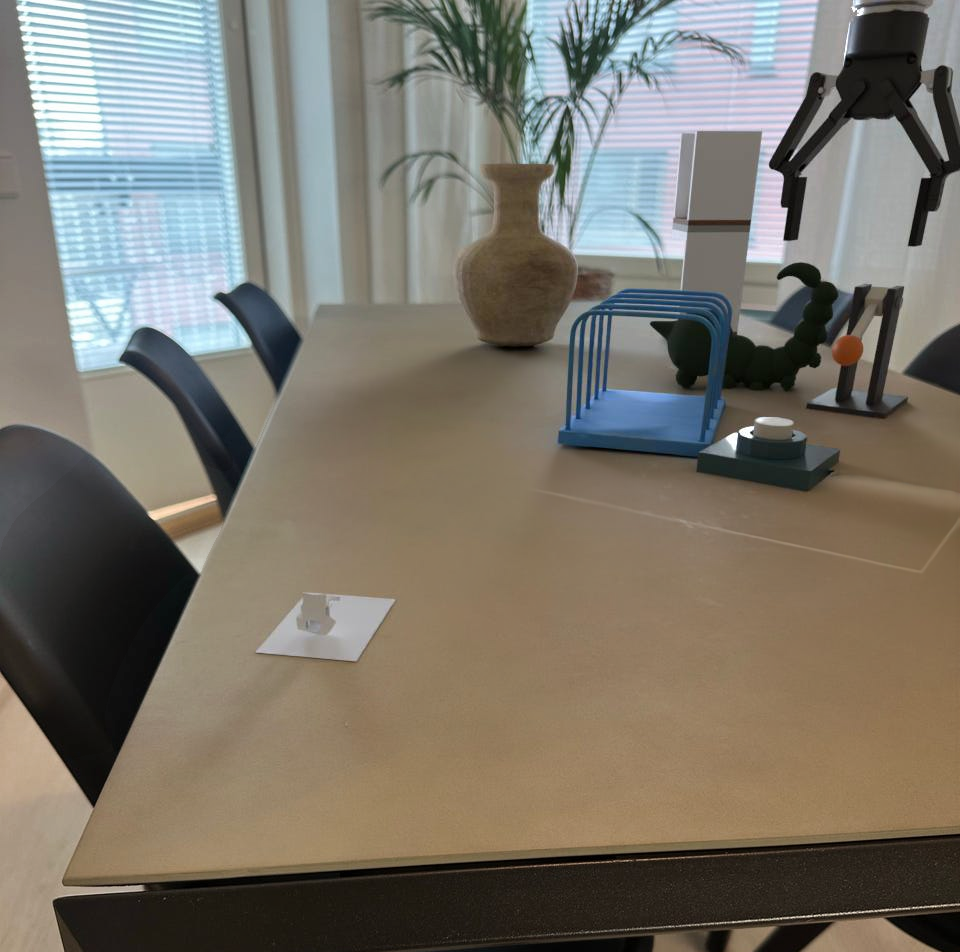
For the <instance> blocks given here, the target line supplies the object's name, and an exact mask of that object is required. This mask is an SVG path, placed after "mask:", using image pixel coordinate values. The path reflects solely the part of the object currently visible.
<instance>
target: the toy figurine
mask: <svg viewBox="0 0 960 952" xmlns="http://www.w3.org/2000/svg"><path fill="white" fill-rule="evenodd" d="M787 277H793V278H796V279H798V280H799V281H800V282H801V283H802V284H803V285H804V286H805V287H807V288H812V290H811V291H810V296H809V297H810V300H809V301H808V302H806V304H805V305H804V307H803V309H802V319H801V320H800V321H798V323H797V324H796V325H795V327H794V330H793V336H791V337H790V338H788V339H787V340H786V342H785V343H784V345H783V346H778V347H775V348H774V347H772V346H770V345H764V344H759V345H756V344H755V343H754V342H753V341H752V339H750V338H749V337H748V336H744V335H742V334H741V335H740V334H737V335H734V333H733V330H732V327H730V335H729V342H728V349H727V356H726V363H725V370H724V378H723V384H722V389H724V390H725V389H727V390H730V389H732V388H733V387H734V386H735V385H736V384H740V383H742V384H743V385H745V386H746V387H748V389H749V390H750V391H755V392H761V391H764V389H766V388H769V387H771V386H773V385H774V384H780V387H781V388H782V389H783V390H785V391H787V390H791V389H793V387H794V386H795V385H796V380H797V375H798V373H799V372H800V370H801V369H804V368H807V367H809V368H812V369H816V368H818V367H820V365H821V363H822V355H821V353H820V352H818V347H819V345H822V344H824V343H826V342H827V340H828V331H827V328H826V325H827V324H828V323H829V322H830V321H832V319H833V318H834V309H833V304H834V303H835V302H836V300H838V298H839V291H838V289H837V287H836V285H835V284H834V283H832V282H830V281H821V280H822V274H821V271H820V269H819V268H818V267H816V266H815V265H813V264H811V263H808V262H802V261H800V262H792V263H791V264H789V265H786V266H785V267H784V268H782V269H781V270H780V271H779V272H778V273H777V275H776V280H777V281H780V280H782V279H785V278H787ZM705 310H708V311H709V312H711V313H712V314H713V315H714V316H715V317H716V318H717V320H718V322H719V324H720V320H719V317H718V315H717V314H716V313H715V312H714V311H712V310H709V309H705ZM686 314H689V315H698V316H701V317H703V318H705V319H707V320H708V321H709V322H710V323H711V324H712V325H713V327H714V329H715V325H714V323H713V322H712V320H711V319H710V318H709V317H707V316H705V315H703V314H697V313H686ZM649 326H650V327H651V328H652V329H654V331H656V332H657V333H658V334H659V335H660V336H661V337H662V338H664V339H665V341H666V342H667V345H666V346H667V353H668V356H669V358H670V361H671V363H672V364H673V366H674V367H675V368H676V369H677V371H676V373H675V382H676V383H677V384H678V386H680V387H683V388H690V387H692V386H694V385H695V384H696V383H697V380H698V377H702V378H703V377H708V373H709V364H710V355H711V345H712V337H711V333H710V331H709V329H708V328H707V327H706V326H705V325H704V324H703V323H701V322H699V321H695V320H681V319H675V320H651V321H650V322H649ZM715 331H716V329H715Z"/></svg>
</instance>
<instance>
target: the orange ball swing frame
mask: <svg viewBox="0 0 960 952" xmlns="http://www.w3.org/2000/svg"><path fill="white" fill-rule="evenodd" d="M872 287H873V284H872V283H863V284H859V285H856V286H854V290H853V295H852V297H851V301H850V304H851V307H850V312H849V317H848V323H847V329H846V335H851V333H852V332H853V330H854V328H855V327H856V325H857V323H858V322H859V320H860V318H861V317H862V315H863V313H864V308H865V298H866V296H867V294H868V293H869V291H870V289H871V288H872ZM888 288H889V289H888V290H887V295H886V300H885V306H884V311H883V315H882V316H881V322H880V328H879V331H878V338H877V342H876V348H875V353H874V357H873V358H874V359H873V362H872V363H873V364H872V369H871V374H870V379H869V383H868V389H867V391H865V390H855V389H854V385H855V383H854V382H855V378H856V373H857V368H858V363H859V360H858V361H857V362H856V363H854V364H852V365H849V366H843V365H840V368H839V375H838V380H837V386H836V387H833V388H831V389H829V390H828V391H826V392H824V393H822V394H821V395H818V396H817V397H816V398H815V397H814V399H812V400H810V401H808V402H807V403H806V405H805V407H806V408H805V409H806V410H807V409H808V410H814V411H822V412H829V413H837V414H844V415H852V416H859V417H866V418H867V417H868V418H873V419H881V420H885V419H886V418H888V417H890V416H891V415H892V414H893V413H895V412H896V411H897V410H899V409H900V408H901V407H902V406H904V405H905V404H907V403H908V401H909V396H907V395H898V394H889V393H884V390H885V386H886V380H887V376H888V370H889V367H890V360H891V356H892V351H893V346H894V342H895V337H896V331H897V326H898V321H899V316H900V311H901V309H902V307H903V304H904V291H905V286H904V285H894V286H892V287H888ZM846 335H845V336H846ZM862 341H863V337H862V338H861V342H862Z"/></svg>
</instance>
